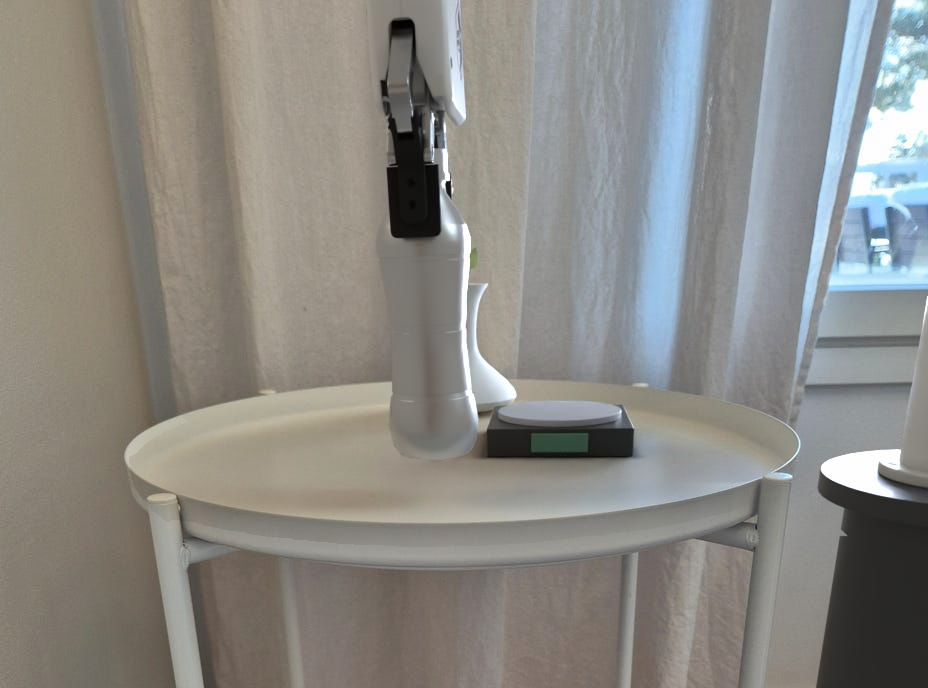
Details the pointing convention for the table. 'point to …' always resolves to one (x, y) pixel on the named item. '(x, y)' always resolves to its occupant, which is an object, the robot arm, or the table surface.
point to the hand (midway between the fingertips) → (423, 234)
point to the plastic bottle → (429, 335)
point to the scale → (560, 430)
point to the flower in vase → (484, 378)
